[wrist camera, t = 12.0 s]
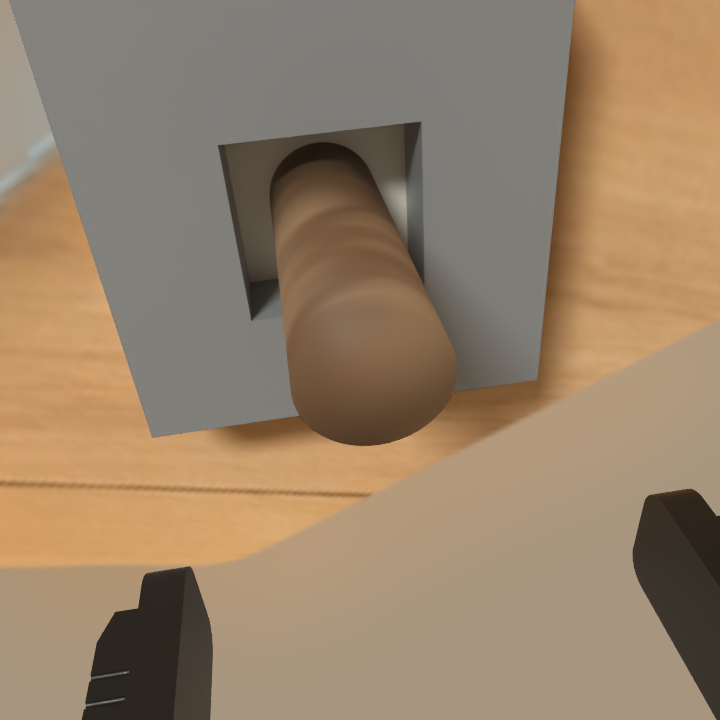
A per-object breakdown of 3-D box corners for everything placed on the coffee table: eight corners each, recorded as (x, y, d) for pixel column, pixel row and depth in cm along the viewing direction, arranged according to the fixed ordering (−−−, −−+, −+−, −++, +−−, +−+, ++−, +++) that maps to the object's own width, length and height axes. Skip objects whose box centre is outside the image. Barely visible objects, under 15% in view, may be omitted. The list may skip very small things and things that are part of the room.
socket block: (532, -74, 23) (581, -67, 20) (506, 329, 32) (537, 379, 29) (39, -27, 22) (5, -11, 18) (161, 379, 31) (152, 437, 28)
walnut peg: (371, 136, 25) (458, 297, 15) (377, 236, 27) (456, 432, 18) (261, 148, 25) (279, 322, 15) (277, 249, 27) (301, 457, 17)
